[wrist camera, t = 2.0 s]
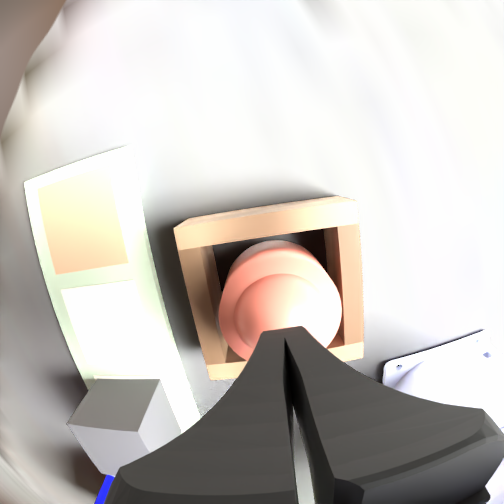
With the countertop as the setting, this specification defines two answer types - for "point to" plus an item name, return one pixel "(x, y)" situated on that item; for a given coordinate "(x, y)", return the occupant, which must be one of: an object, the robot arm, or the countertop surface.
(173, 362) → the board
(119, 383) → the block
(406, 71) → the countertop surface
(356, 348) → the collar
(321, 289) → the dome
